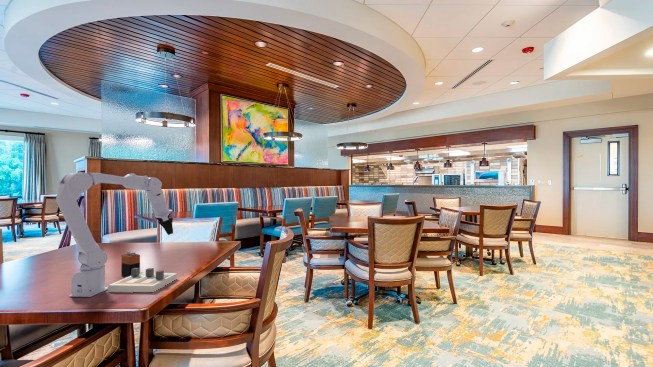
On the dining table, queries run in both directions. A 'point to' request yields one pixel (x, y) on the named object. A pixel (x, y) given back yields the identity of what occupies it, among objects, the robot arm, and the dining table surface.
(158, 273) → the block
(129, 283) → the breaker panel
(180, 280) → the dining table surface
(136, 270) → the block
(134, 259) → the battery
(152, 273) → the block
